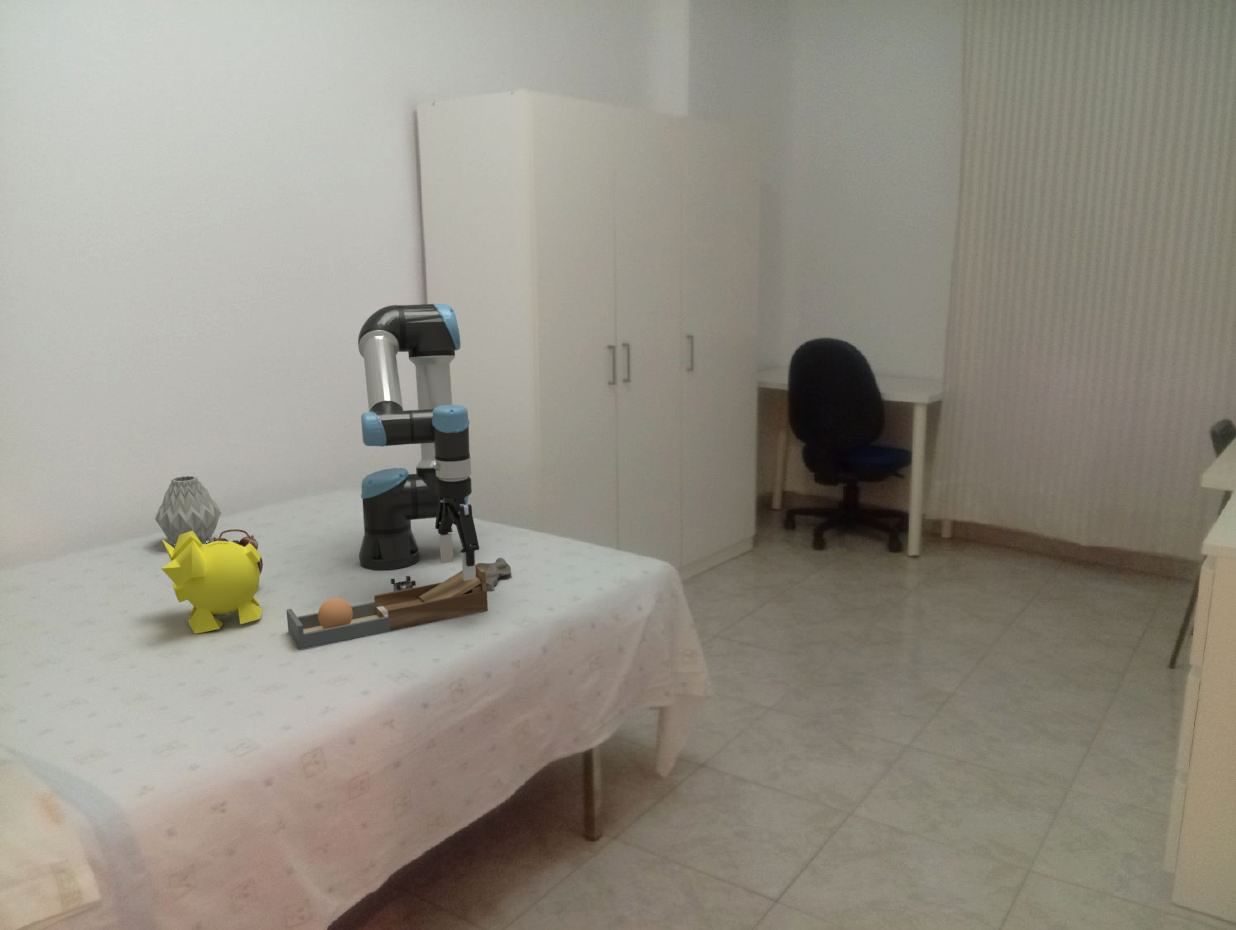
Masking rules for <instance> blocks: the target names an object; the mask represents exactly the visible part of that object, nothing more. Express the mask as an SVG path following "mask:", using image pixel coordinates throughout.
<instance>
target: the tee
mask: <svg viewBox="0 0 1236 930" xmlns="http://www.w3.org/2000/svg"><path fill="white" fill-rule="evenodd" d="M390 584H391V585H392V586H393V587H392V588H393V592H394V591H400V590H405V589H410V588H414V587H415V586H416V585H417V584H416V580H414V579H413V580H412V579H411V576H410V575H407V576H406V575H405V580H403V581H402V580H401V581H398V582H396V579H395V578H390ZM416 587H417V586H416Z"/></svg>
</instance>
